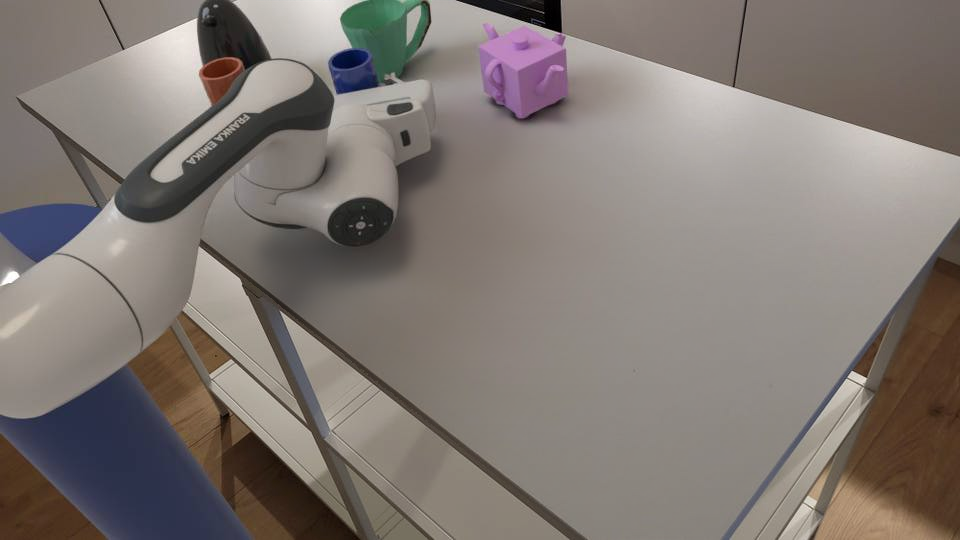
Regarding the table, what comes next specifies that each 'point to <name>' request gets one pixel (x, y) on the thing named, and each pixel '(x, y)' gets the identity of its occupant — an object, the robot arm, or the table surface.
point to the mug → (385, 31)
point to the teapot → (524, 69)
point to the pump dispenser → (228, 34)
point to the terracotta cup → (220, 76)
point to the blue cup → (353, 70)
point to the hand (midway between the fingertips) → (355, 84)
